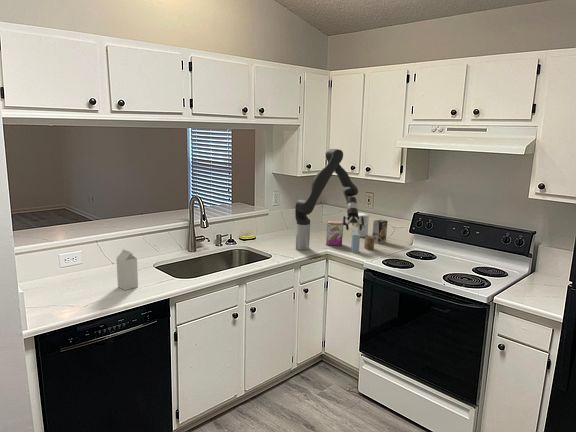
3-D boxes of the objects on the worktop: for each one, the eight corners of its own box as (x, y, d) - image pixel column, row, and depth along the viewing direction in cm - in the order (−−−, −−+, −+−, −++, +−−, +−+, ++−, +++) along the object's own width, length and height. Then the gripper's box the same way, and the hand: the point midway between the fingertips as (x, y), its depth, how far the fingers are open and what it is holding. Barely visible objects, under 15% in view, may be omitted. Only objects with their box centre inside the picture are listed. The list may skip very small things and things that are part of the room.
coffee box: (378, 244, 320) (380, 222, 317) (371, 242, 325) (373, 220, 322) (386, 242, 326) (388, 220, 323) (379, 240, 331) (380, 219, 328)
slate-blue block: (352, 252, 296) (353, 235, 294) (351, 250, 301) (352, 233, 298) (358, 252, 296) (360, 235, 294) (357, 250, 301) (358, 233, 298)
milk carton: (124, 290, 218) (123, 253, 214) (117, 287, 222) (115, 250, 218) (138, 287, 223) (136, 250, 219) (130, 283, 227) (129, 247, 224)
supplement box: (350, 234, 347) (352, 213, 344) (360, 233, 351) (362, 212, 348) (357, 237, 339) (359, 215, 335) (367, 236, 343) (369, 214, 339)
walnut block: (366, 250, 304) (367, 238, 302) (364, 248, 309) (365, 236, 307) (373, 249, 305) (374, 238, 303) (371, 247, 309) (371, 236, 308)
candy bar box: (326, 245, 313) (327, 222, 310) (326, 243, 318) (327, 220, 315) (342, 246, 312) (343, 223, 309) (342, 244, 317) (343, 221, 314)
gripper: (343, 207, 309) (344, 226, 300) (363, 207, 310) (365, 227, 301) (341, 213, 316) (343, 232, 307) (361, 213, 316) (363, 233, 307)
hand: (354, 229), depth 304 cm, fingers open, 8 cm apart
